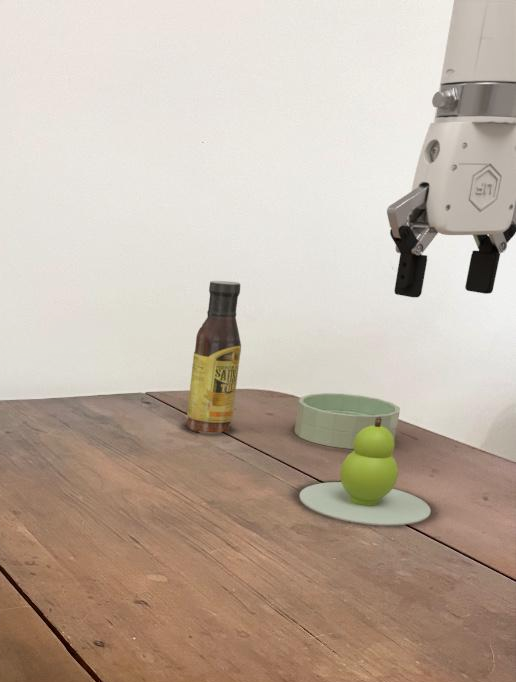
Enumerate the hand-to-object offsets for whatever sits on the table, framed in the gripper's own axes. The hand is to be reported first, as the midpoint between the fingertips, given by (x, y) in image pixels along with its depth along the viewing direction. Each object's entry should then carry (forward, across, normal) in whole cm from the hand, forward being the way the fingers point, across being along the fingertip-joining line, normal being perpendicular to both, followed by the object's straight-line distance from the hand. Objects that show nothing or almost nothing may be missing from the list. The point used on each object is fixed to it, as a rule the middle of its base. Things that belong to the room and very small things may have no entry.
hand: (443, 293), depth 95 cm
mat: (+22, -7, -1) cm, 23 cm away
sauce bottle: (+22, -6, +32) cm, 40 cm away
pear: (+22, -7, -1) cm, 23 cm away
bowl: (+22, +9, +22) cm, 33 cm away
